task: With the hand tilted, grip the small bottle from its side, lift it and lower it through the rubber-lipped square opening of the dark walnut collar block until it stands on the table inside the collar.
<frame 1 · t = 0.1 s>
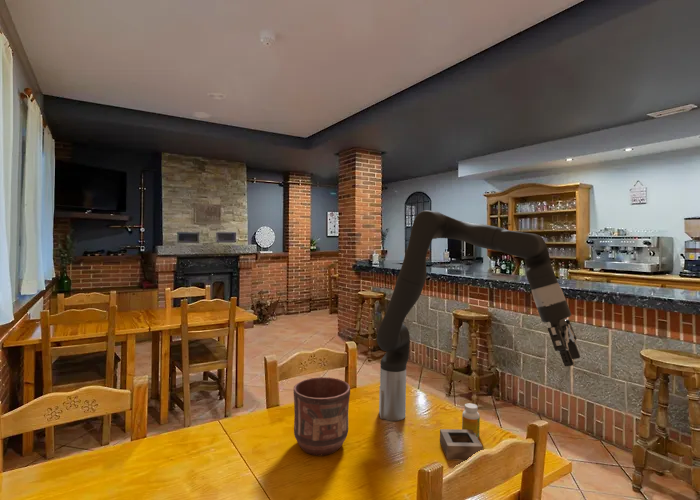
hand: (572, 361, 103), 31 cm above the table, tool tilted 20°, fingers open, 8 cm apart
pottery: (321, 445, 120), on the table
supplement bottle: (470, 435, 127), on the table
collar block: (460, 450, 117), on the table
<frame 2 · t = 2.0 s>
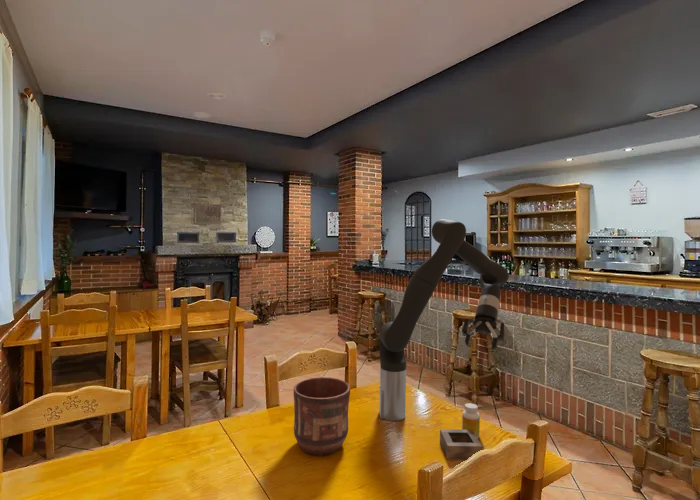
hand: (480, 347, 136), 26 cm above the table, tool tilted 45°, fingers open, 8 cm apart
nothing on the table moved.
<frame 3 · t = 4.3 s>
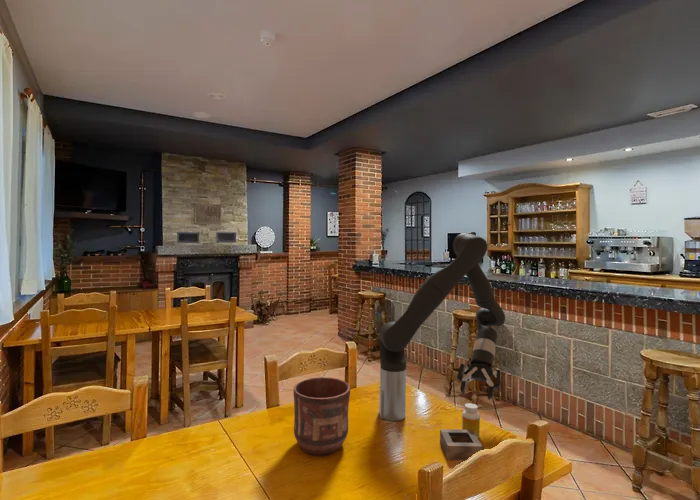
hand: (475, 395, 132), 11 cm above the table, tool tilted 45°, fingers open, 8 cm apart
nothing on the table moved.
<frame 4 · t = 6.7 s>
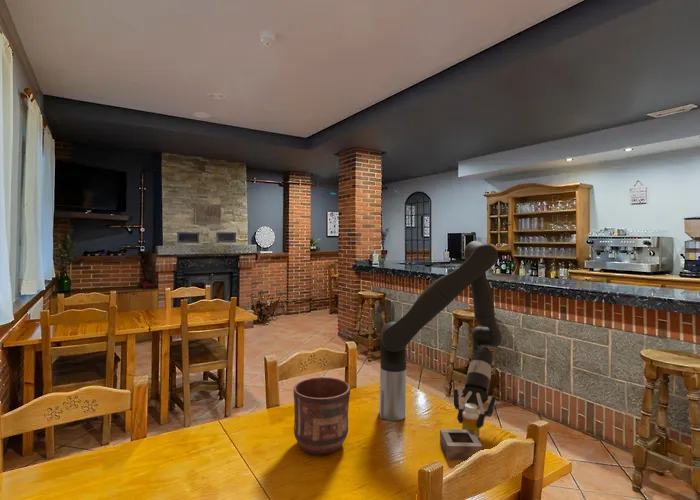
hand: (469, 424, 125), 4 cm above the table, tool tilted 45°, fingers closed on supplement bottle, 5 cm apart
supplement bottle: (470, 435, 127), on the table, touching gripper
everything else where it was.
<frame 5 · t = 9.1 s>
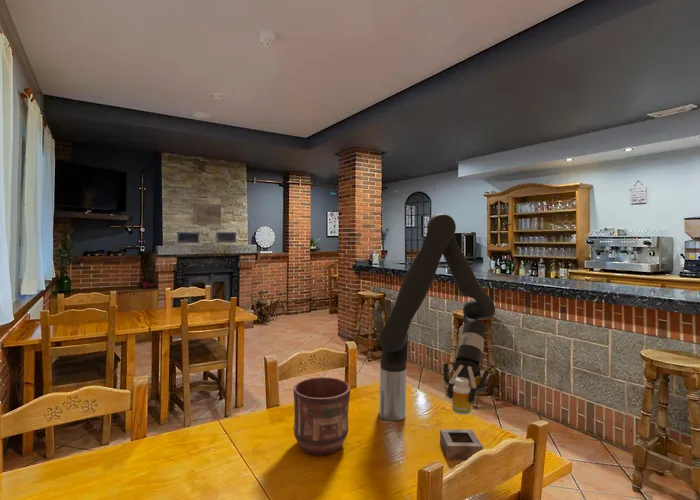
hand: (460, 399, 116), 16 cm above the table, tool tilted 45°, fingers closed on supplement bottle, 5 cm apart
supplement bottle: (461, 412, 118), point 12 cm above the table, touching gripper
everything else where it was.
when the fingers open (6 cm above the table, at t = 11.6 s): supplement bottle drops 1 cm, resting in collar block.
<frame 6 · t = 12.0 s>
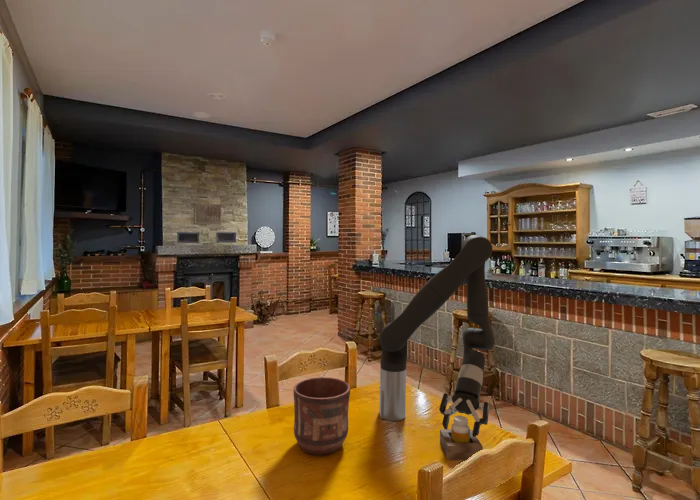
hand: (459, 432, 116), 6 cm above the table, tool tilted 45°, fingers open, 8 cm apart
supplement bottle: (460, 451, 118), resting in collar block
everything else where it was.
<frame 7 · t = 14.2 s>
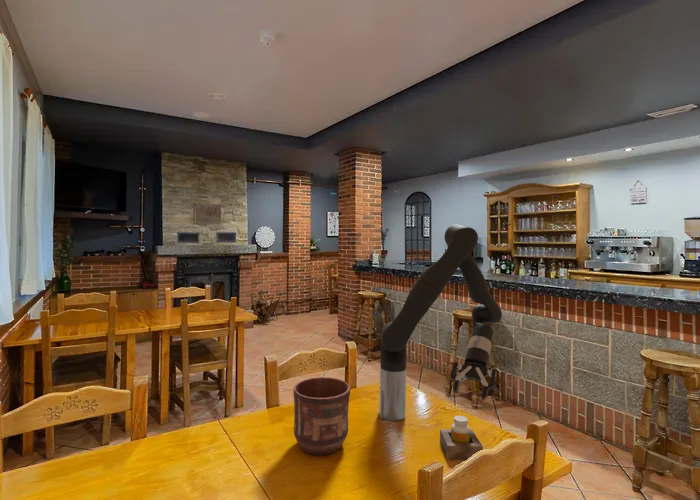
hand: (469, 396, 127), 13 cm above the table, tool tilted 45°, fingers open, 8 cm apart
nothing on the table moved.
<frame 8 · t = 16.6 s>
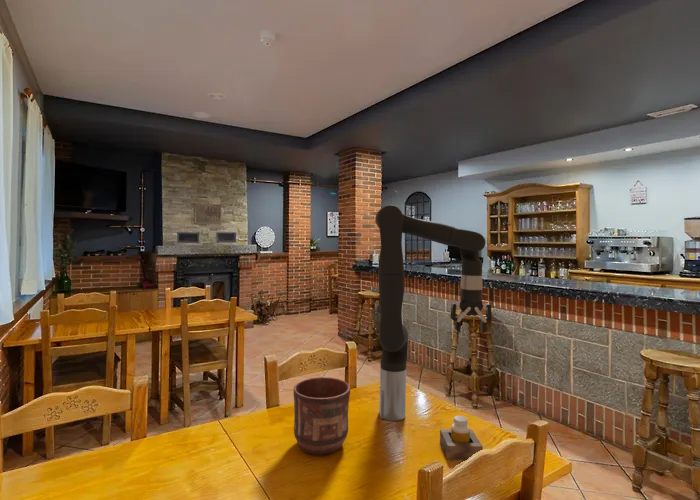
hand: (470, 332, 142), 30 cm above the table, tool pointing down, fingers open, 8 cm apart
nothing on the table moved.
at the end: supplement bottle 0.2 cm from the collar block (horizontally); supplement bottle resting in collar block; supplement bottle tilted 0° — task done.
